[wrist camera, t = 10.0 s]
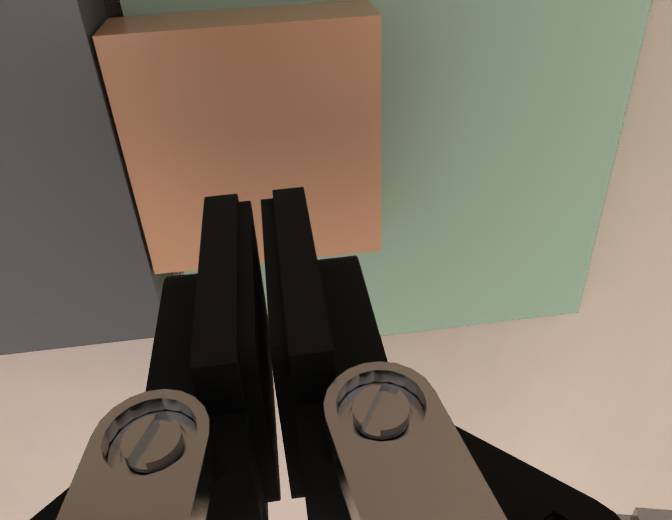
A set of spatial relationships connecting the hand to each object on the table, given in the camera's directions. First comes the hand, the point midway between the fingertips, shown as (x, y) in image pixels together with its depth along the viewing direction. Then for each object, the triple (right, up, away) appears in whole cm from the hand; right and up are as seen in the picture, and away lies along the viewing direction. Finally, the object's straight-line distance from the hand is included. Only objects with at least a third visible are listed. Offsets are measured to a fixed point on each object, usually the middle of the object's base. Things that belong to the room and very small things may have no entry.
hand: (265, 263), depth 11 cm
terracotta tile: (-1, +4, +8) cm, 9 cm away
